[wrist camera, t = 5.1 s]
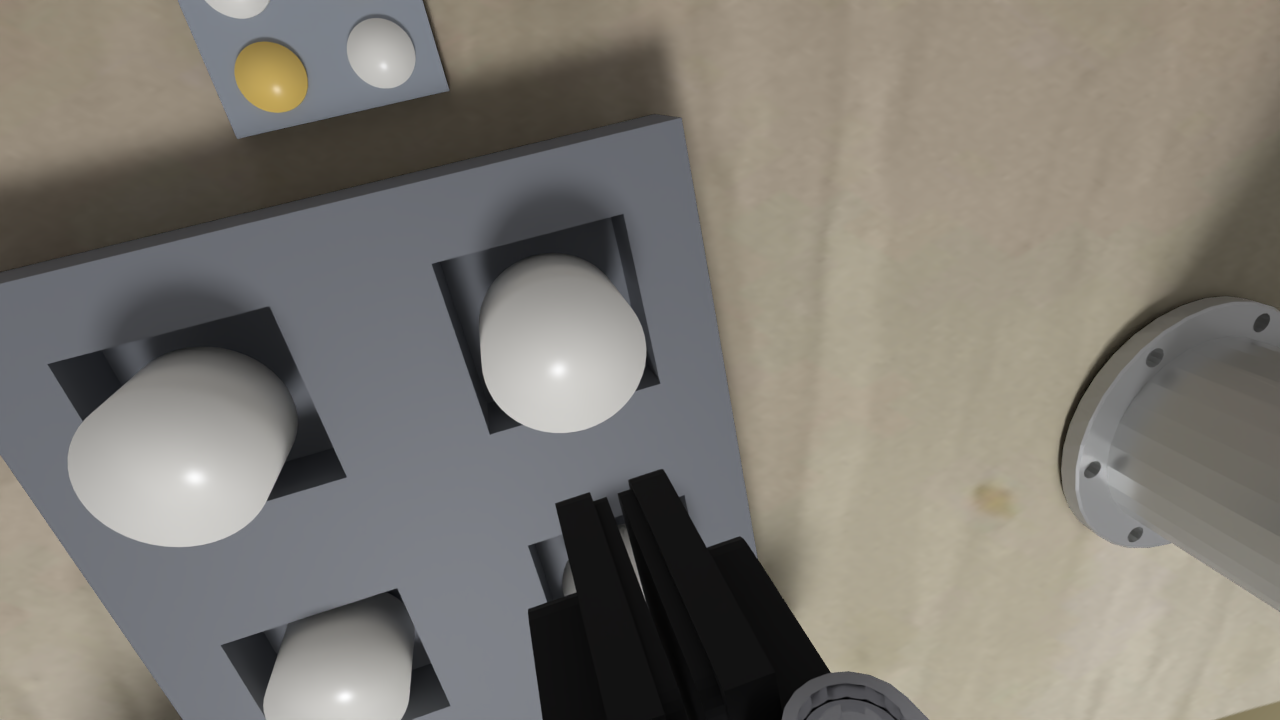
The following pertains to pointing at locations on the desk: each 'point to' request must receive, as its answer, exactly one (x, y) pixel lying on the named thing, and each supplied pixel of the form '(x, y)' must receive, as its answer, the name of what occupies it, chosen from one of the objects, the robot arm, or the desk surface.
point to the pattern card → (313, 57)
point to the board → (382, 410)
